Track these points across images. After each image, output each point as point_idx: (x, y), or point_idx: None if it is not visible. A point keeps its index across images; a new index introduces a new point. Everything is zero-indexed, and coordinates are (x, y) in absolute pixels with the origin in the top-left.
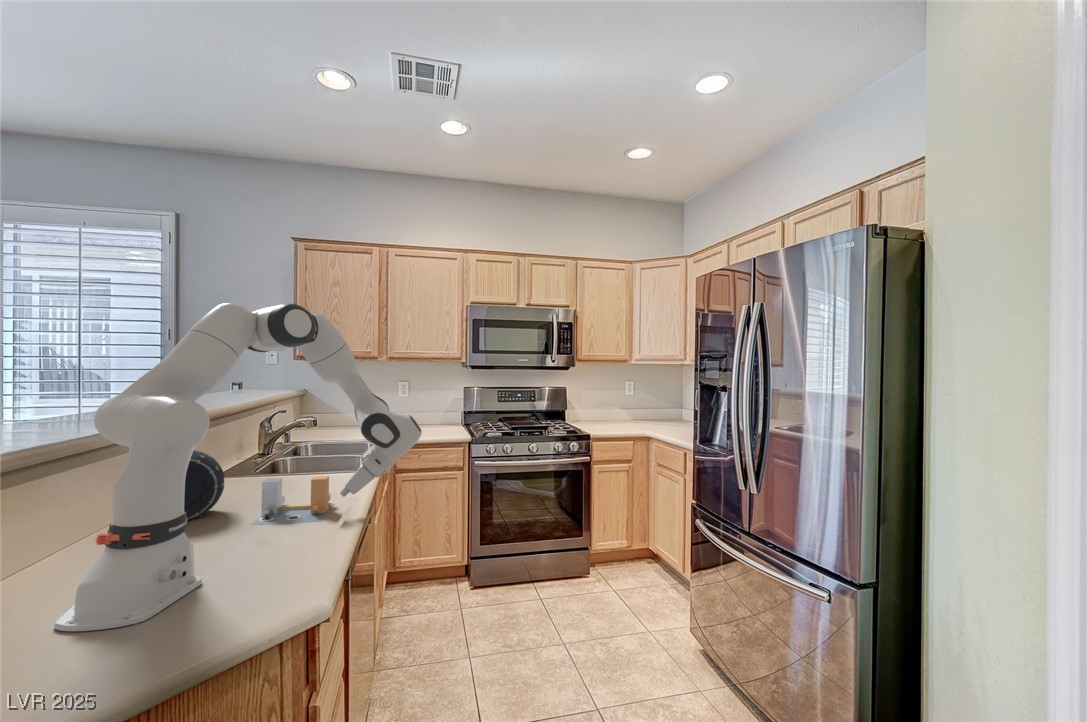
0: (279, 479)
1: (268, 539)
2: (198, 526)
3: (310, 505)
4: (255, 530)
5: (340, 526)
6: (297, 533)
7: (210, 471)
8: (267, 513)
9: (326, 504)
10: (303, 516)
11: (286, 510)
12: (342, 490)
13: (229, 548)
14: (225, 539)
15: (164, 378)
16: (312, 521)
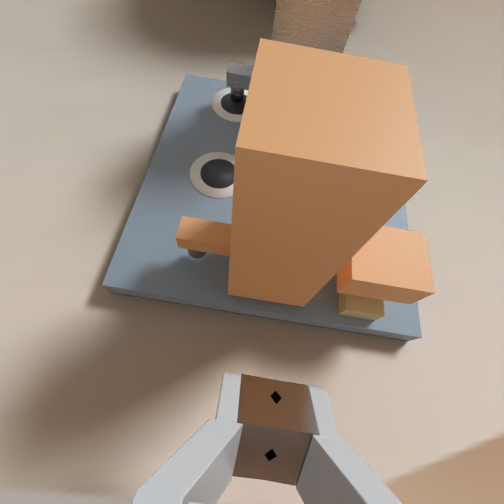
0: None
1: (43, 131)
2: (265, 11)
3: None
4: (170, 99)
5: (39, 394)
6: (53, 207)
7: None
8: (227, 84)
9: (258, 285)
10: (224, 206)
11: None
12: (222, 396)
13: (25, 61)
14: (120, 51)
15: None
16: (123, 245)
